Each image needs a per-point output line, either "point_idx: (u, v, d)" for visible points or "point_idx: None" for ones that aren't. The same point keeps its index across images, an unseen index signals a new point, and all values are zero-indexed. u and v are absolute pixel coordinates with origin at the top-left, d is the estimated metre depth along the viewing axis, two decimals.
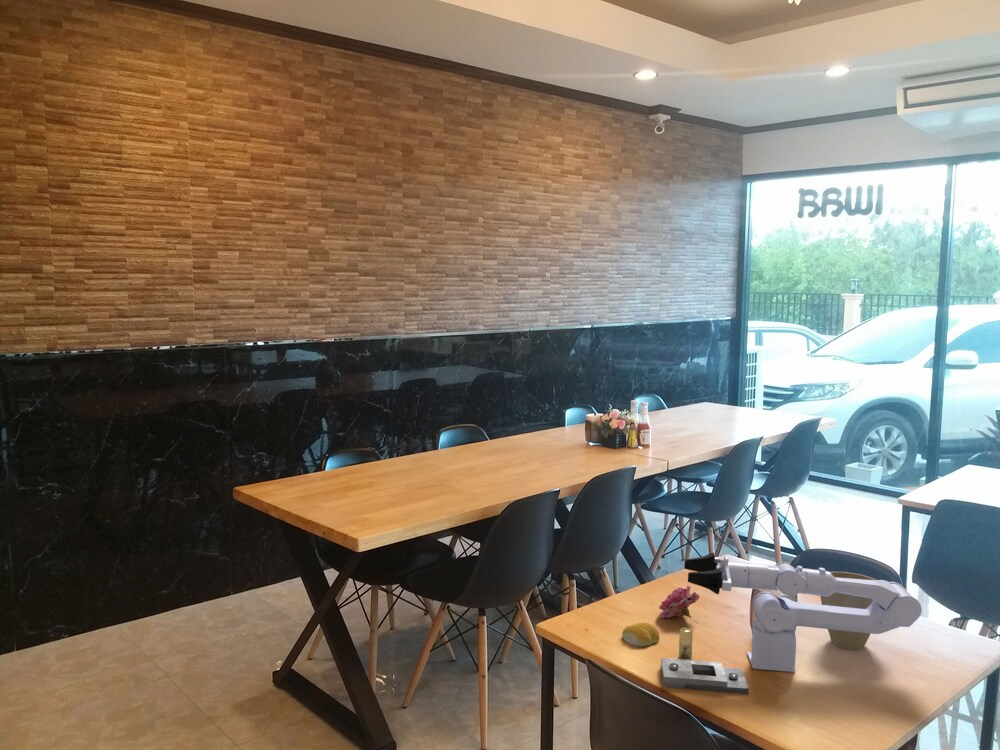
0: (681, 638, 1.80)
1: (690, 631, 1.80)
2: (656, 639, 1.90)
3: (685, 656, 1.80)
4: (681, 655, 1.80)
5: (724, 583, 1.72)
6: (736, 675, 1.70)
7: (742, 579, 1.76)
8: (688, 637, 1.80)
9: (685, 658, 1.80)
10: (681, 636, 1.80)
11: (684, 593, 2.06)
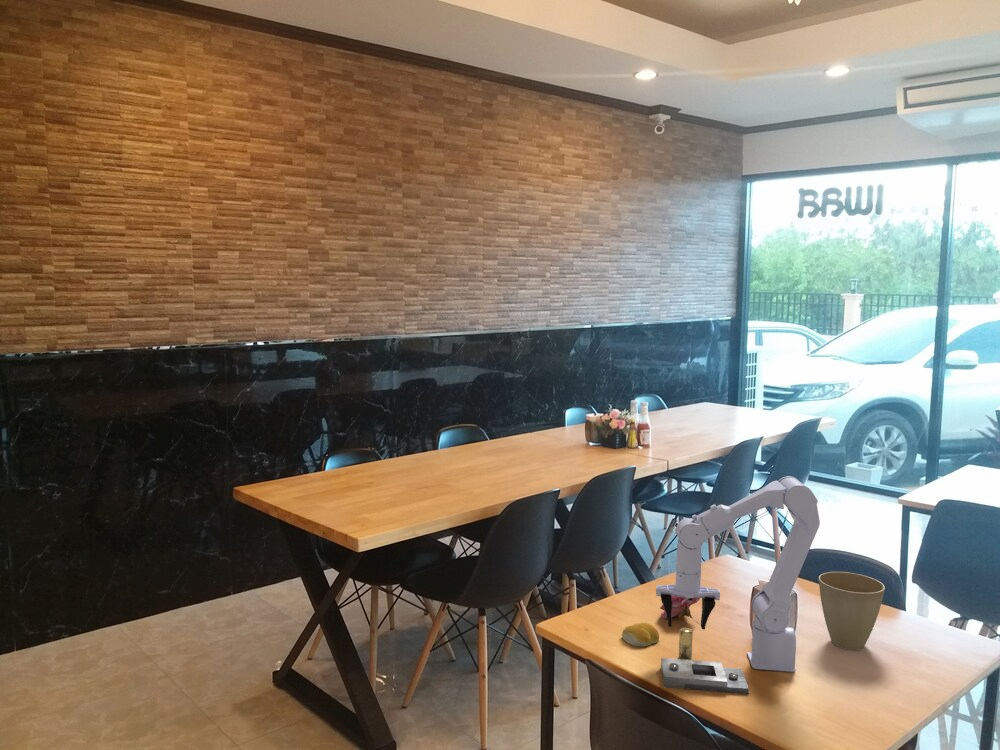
0: (681, 638, 1.80)
1: (690, 631, 1.80)
2: (656, 639, 1.90)
3: (685, 656, 1.80)
4: (681, 655, 1.80)
5: (719, 598, 1.78)
6: (736, 675, 1.70)
7: (700, 577, 1.79)
8: (688, 637, 1.80)
9: (685, 658, 1.80)
10: (681, 636, 1.80)
11: None
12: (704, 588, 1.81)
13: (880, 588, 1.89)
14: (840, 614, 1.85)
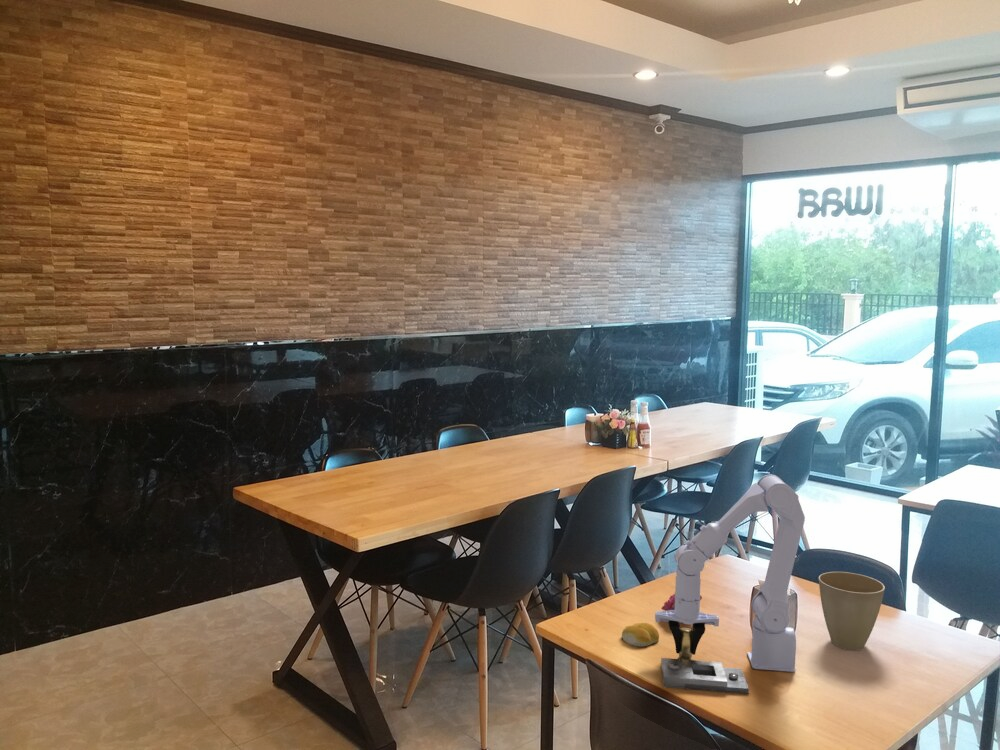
0: (681, 638, 1.80)
1: (690, 631, 1.80)
2: (656, 639, 1.89)
3: (685, 656, 1.80)
4: (681, 655, 1.80)
5: (718, 624, 1.79)
6: (736, 675, 1.70)
7: (699, 603, 1.80)
8: (688, 637, 1.80)
9: (685, 658, 1.80)
10: (681, 636, 1.80)
11: None
12: (703, 614, 1.82)
13: (880, 588, 1.89)
14: (840, 614, 1.85)
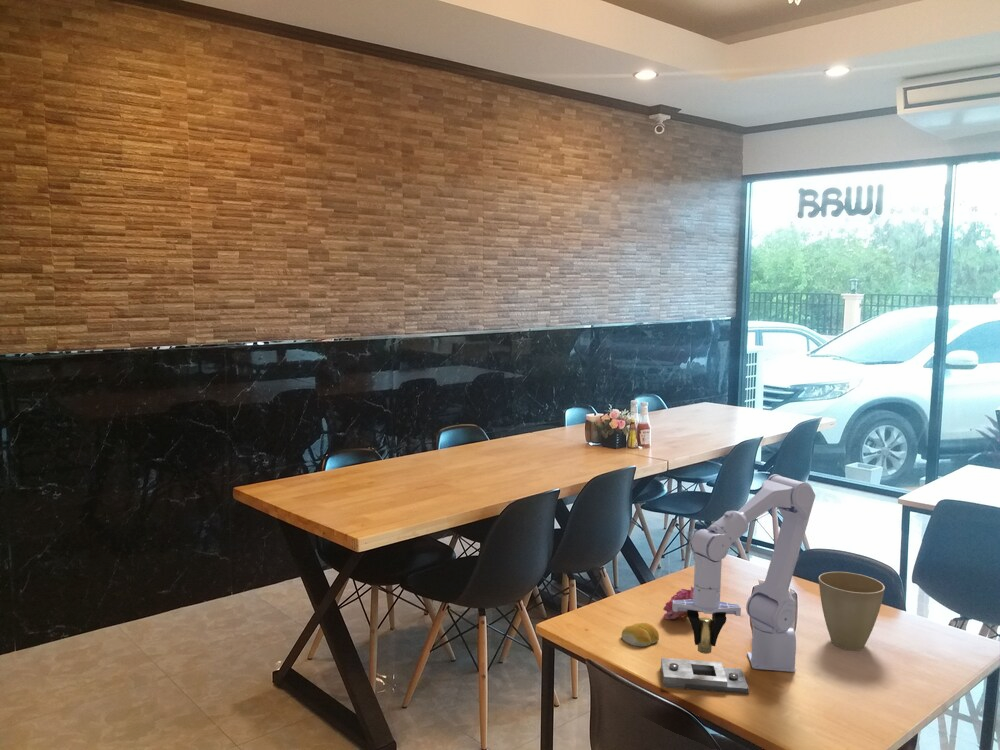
0: (700, 629, 1.70)
1: (710, 621, 1.70)
2: (655, 639, 1.89)
3: (705, 648, 1.69)
4: (701, 647, 1.70)
5: None
6: (736, 675, 1.70)
7: None
8: (708, 627, 1.69)
9: (705, 650, 1.69)
10: (700, 626, 1.69)
11: (688, 594, 2.05)
12: (724, 603, 1.71)
13: (880, 588, 1.88)
14: (840, 614, 1.85)
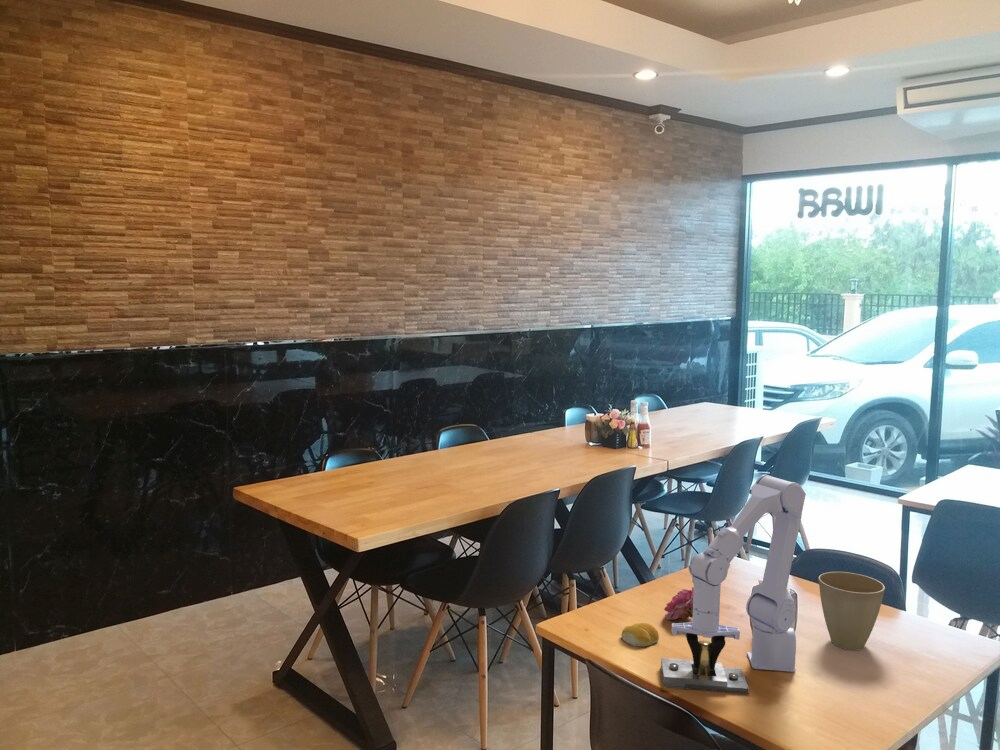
0: (699, 652, 1.70)
1: (709, 644, 1.70)
2: (655, 639, 1.89)
3: (704, 671, 1.70)
4: (700, 670, 1.70)
5: None
6: (736, 675, 1.70)
7: None
8: (707, 650, 1.69)
9: (704, 673, 1.70)
10: (699, 649, 1.70)
11: (689, 595, 2.05)
12: (723, 626, 1.71)
13: (880, 588, 1.89)
14: (840, 614, 1.85)
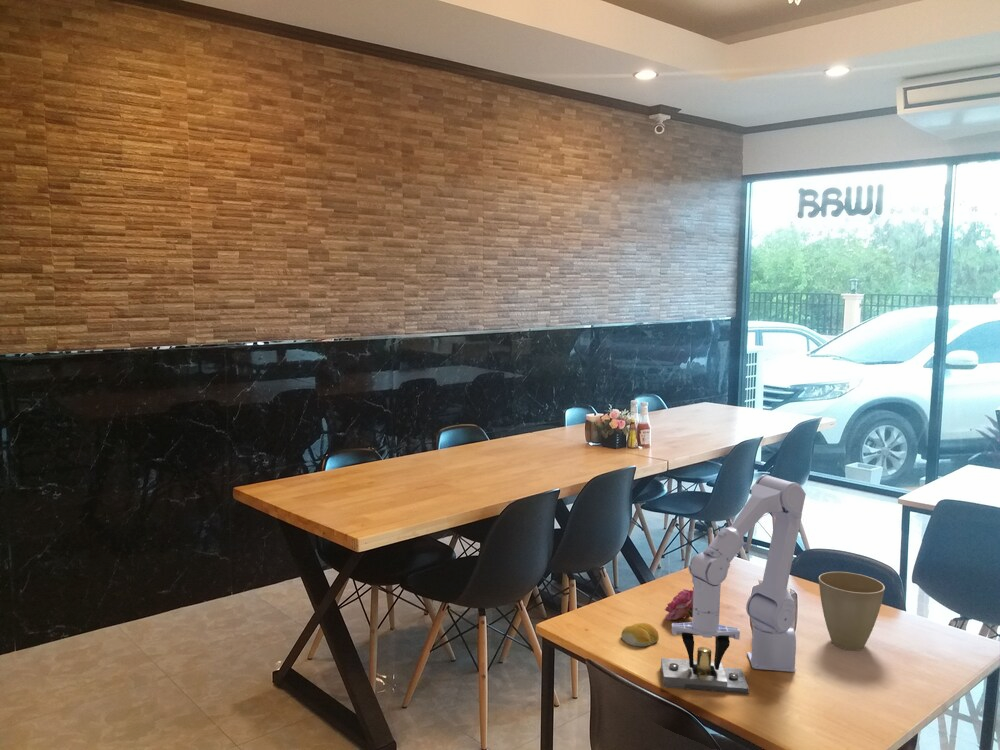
0: (699, 659, 1.70)
1: (709, 651, 1.70)
2: (655, 639, 1.89)
3: None
4: None
5: None
6: (736, 675, 1.70)
7: None
8: (706, 657, 1.69)
9: None
10: (699, 656, 1.70)
11: (690, 595, 2.04)
12: (723, 626, 1.71)
13: (880, 588, 1.88)
14: (840, 614, 1.85)
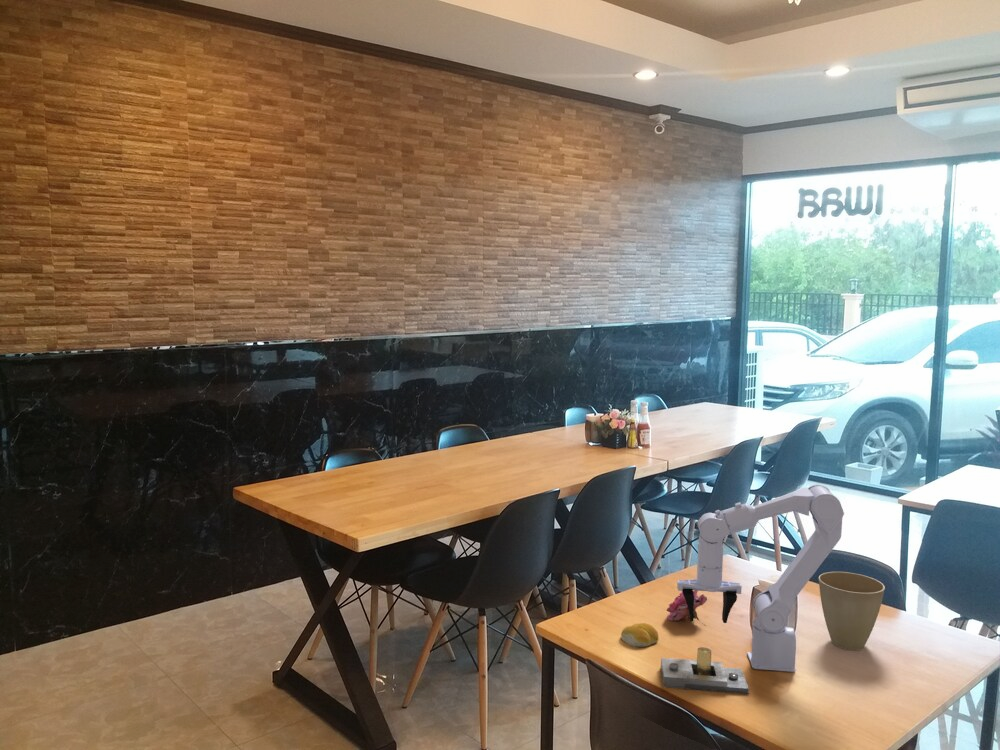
0: (699, 659, 1.70)
1: (709, 651, 1.70)
2: (655, 640, 1.89)
3: None
4: None
5: None
6: (736, 675, 1.70)
7: None
8: (706, 657, 1.69)
9: None
10: (699, 657, 1.70)
11: None
12: (725, 582, 1.82)
13: (880, 588, 1.89)
14: (840, 614, 1.85)
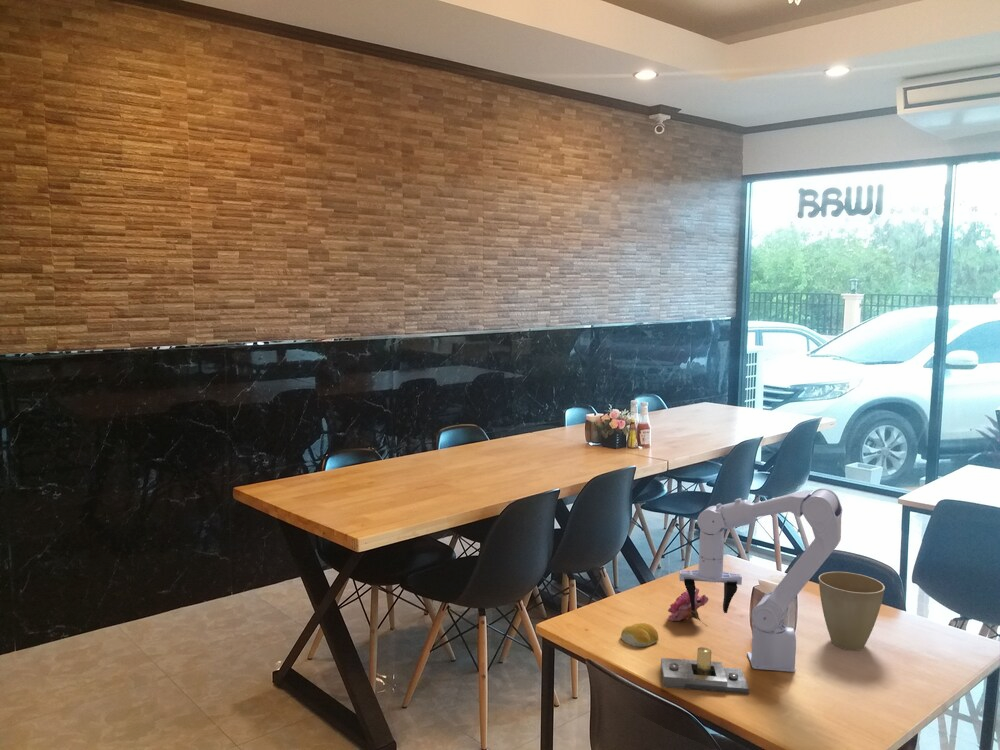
0: (699, 659, 1.70)
1: (709, 651, 1.70)
2: (655, 640, 1.89)
3: None
4: None
5: None
6: (736, 675, 1.70)
7: None
8: (706, 657, 1.69)
9: None
10: (699, 657, 1.70)
11: None
12: (726, 573, 1.87)
13: (880, 588, 1.89)
14: (840, 614, 1.85)
